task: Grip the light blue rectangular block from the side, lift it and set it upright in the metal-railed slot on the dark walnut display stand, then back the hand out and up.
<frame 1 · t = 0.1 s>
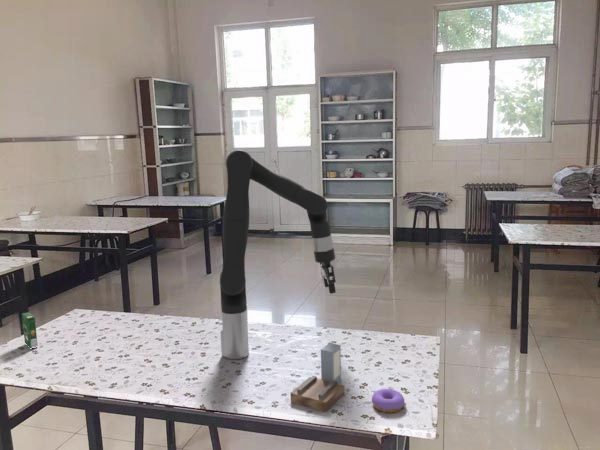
hand: (330, 289, 189), 22 cm above the table, tool pointing down, fingers open, 8 cm apart
light blue rectangular block: (331, 382, 163), on the table
white cup: (239, 327, 215), on the table
coffee box: (31, 346, 201), on the table
donut: (388, 406, 148), on the table
display stand: (317, 398, 153), on the table
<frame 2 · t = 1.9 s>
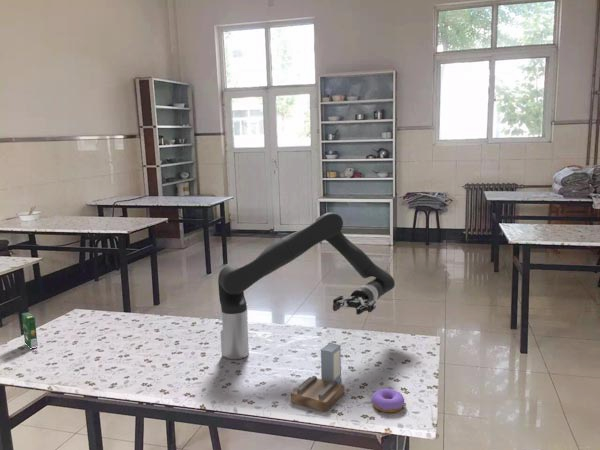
hand: (345, 310, 169), 21 cm above the table, tool horizontal, fingers open, 8 cm apart
nothing on the table moved.
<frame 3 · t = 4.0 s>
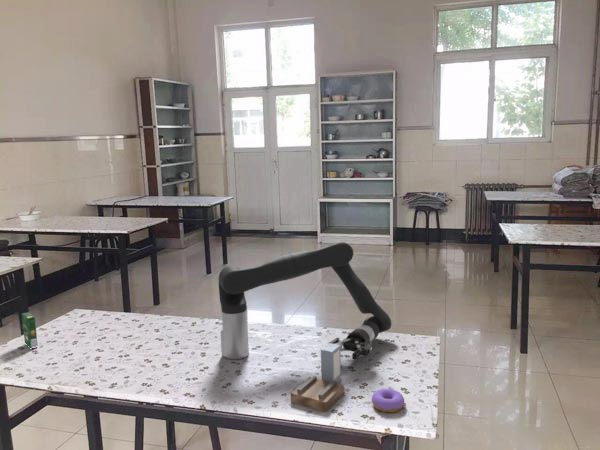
hand: (341, 354, 169), 6 cm above the table, tool horizontal, fingers open, 8 cm apart
nothing on the table moved.
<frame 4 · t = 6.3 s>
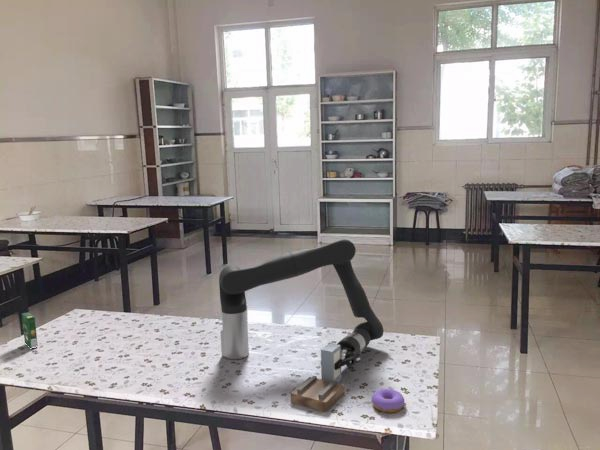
hand: (328, 365, 161), 7 cm above the table, tool horizontal, fingers closed on light blue rectangular block, 4 cm apart
light blue rectangular block: (331, 382, 163), on the table, touching gripper
everything else where it was.
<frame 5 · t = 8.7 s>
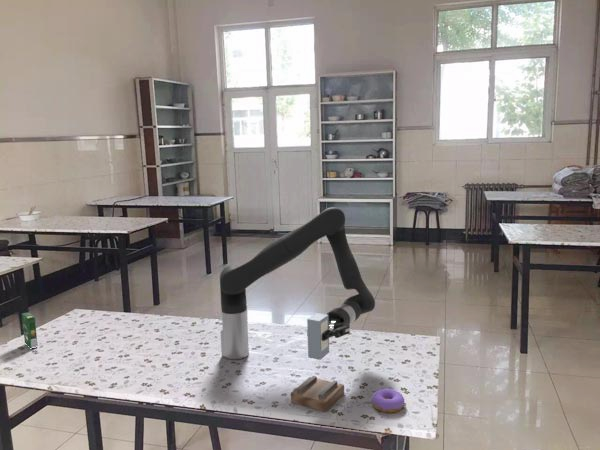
hand: (315, 336, 150), 20 cm above the table, tool horizontal, fingers closed on light blue rectangular block, 4 cm apart
light blue rectangular block: (318, 354, 152), point 13 cm above the table, touching gripper
everything else where it was.
when the fingers open (11 cm above the table, at t = 11.2 s): light blue rectangular block drops 2 cm, resting on display stand.
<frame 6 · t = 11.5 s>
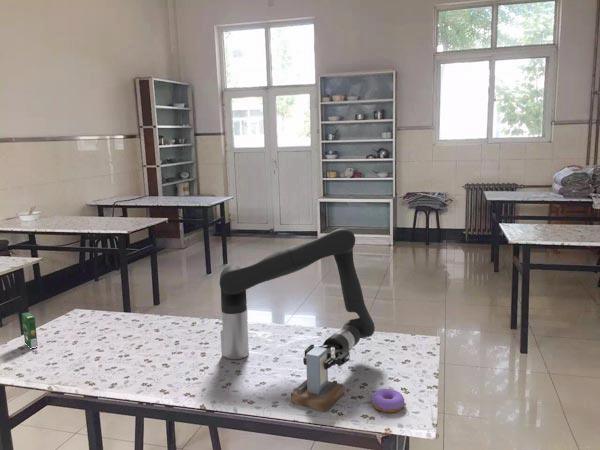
hand: (314, 364, 150), 12 cm above the table, tool horizontal, fingers open, 6 cm apart
light blue rectangular block: (317, 388, 153), point 3 cm above the table, touching display stand
everything else where it was.
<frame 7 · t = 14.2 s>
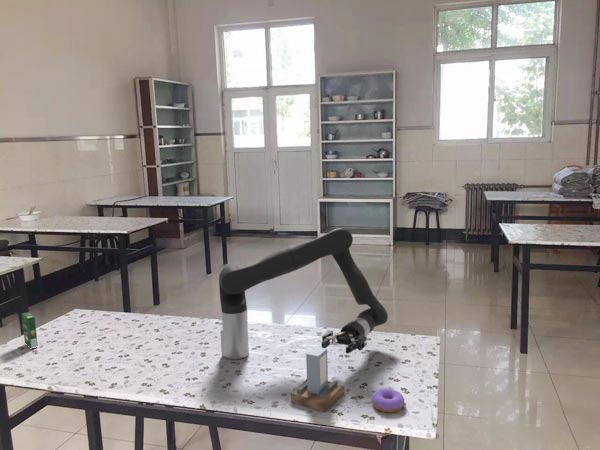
hand: (334, 348, 162), 12 cm above the table, tool horizontal, fingers open, 8 cm apart
nothing on the table moved.
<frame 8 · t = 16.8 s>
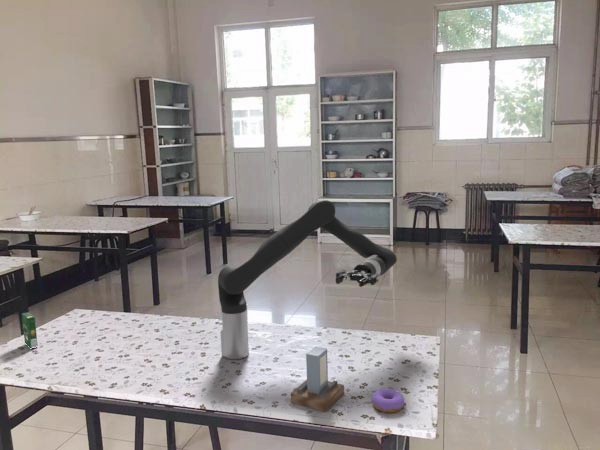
hand: (348, 282, 170), 30 cm above the table, tool horizontal, fingers open, 8 cm apart
nothing on the table moved.
at the end: light blue rectangular block 0.1 cm off-centre on the display stand, point 3.0 cm above the display stand's base; light blue rectangular block tilted 0°; the gripper is holding nothing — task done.
